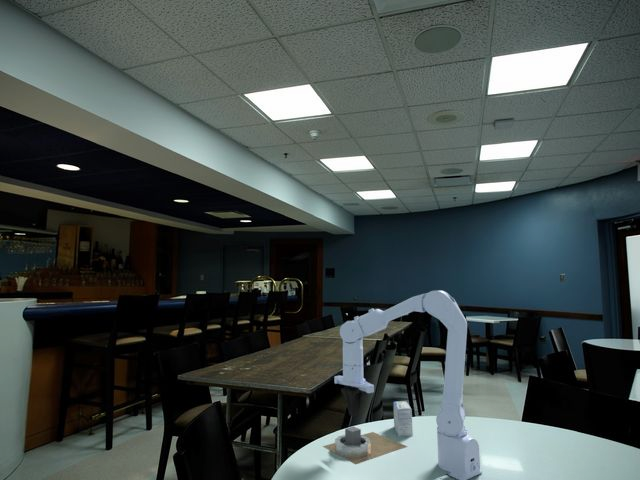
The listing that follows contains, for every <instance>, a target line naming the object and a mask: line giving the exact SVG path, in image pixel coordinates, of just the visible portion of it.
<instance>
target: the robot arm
mask: <svg viewBox="0 0 640 480" xmlns="http://www.w3.org/2000/svg"><path fill="white" fill-rule="evenodd" d="M413 312H419V313H425V312H427V313H428V314H429V315H431V316H432V317H434V318H436V319H438V320H439V321H440V322H441V323H442V324H443V325H444V326H445V328H446V329H447V337H446V338H447V339H446V352H445V367H444V377H443V378H444V379H443V390H442V391H443V392H442V399H441V404H440V410H439V411H438V413H437V414H436V418H435V421H436V425H437V427H436V431H437V432H436V435H437V437H436V438H437V462H438V464H437V465H438V467H439V468H440V469H441V470H444V471H446V472H447V473H446V475H448V476H450V477H452V478H454V479H456V480H469V479H472V478H473V477H476V476H477V475H480V474H482V473H483V470H482V469H481V461H480V457H481V456H480V445H479V442H478V440H477V439H475V438H473V437H471V435H469V434H468V429H467V428H466V427H465V425H464V422H465V419H466V417H467V416H466V415H467V414H466V409H465V406H464V404H463V403H464V402H463V399H464V394H463V393H464V392H463V391H464V378H465V365H466V364H465V362H466V350H467V335H468V321H467V319H466V318H465V316H464V314H463V312H462V310H461V309H460V307H459V304H458V303H457V301H456V300H455V298H454V297H452V296H451V295H450V294H449V293H448V292H447V291H445V290H440V289H439V290H431V291H429V292H427V293H422V294H417V295H415V296H411V297H410V298H408V299H406V300H403V301H402V302H400V303H398V304H395V305H394V306H391V307H389V308H388V309H385V310H382V309H380V308H376V309H375V308H370V309H368V312H367V313H365V314H363V315H360V316H359V315H357V316H354V317H353V320H347V321H346V322H344V323H343V324H342V325H341V326H340V328H339V336H340V338H341V339H342V375H335V376H334V384H335V385H336V384H337V385H338V384H339V385H343V386H344V387H342V388H340V391H341V393H342V395H343V397H344V400H345V402H346V406H347V410H348V414H349V416H352V417H354V416H358V415H359V412H360V411H359V410H360V406H361V403H362V399H363V398H364V396H365V394H373V393H375V386H374V385H375V384H372V383H370V382H368V381H366V380H367V379H366V378H364V346H363V343H364V341H363V339H364V337H369V336H371V335H372V334H373V335H374V334H376V333H378V332H380V331H382V330H385V329H387V327H388V324H389V323H390V322H391V321H393V320H395V319H398V318H400V317H403V316H405V315H407V314H410V313H413Z"/></svg>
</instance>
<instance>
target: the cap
mask: <svg viewBox="0 0 640 480" xmlns="http://www.w3.org/2000/svg"><path fill="white" fill-rule="evenodd" d="M361 430H362V429H361V428H358V427H356V426H350V427H347V428H346V427H345V428H344V435H345V442H344V443H343V444H345V445H350V446H358V445H362V444H363V443H362V442H361V435H362V431H361Z"/></svg>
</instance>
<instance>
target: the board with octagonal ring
mask: <svg viewBox="0 0 640 480" xmlns="http://www.w3.org/2000/svg"><path fill="white" fill-rule="evenodd" d="M344 442H345V434H343V435H339V436H337V437H336V438H335V439H334V442H333V443H330V444H326V445H323V446H322V447H323V448H325V449H327V450H329V451H330V452H333V453H334V454H336V455H338V456H339V457H341V458H343V459H345V460H347V461H348V462H351V463H352V464H353V465H357V464H361V463H363V462H366V461H369V460H373V459H376V458H379V457H381V456H384V455H388V454H390V453H393V452H396V451H399V450H401V449H405V448H408V446H407V445H405V444H402V443H401V442H398V441H395V440H393V439H391V438H388V437H386V436H384V435H381V434H379V433H376V432H374V431H372V432H368V433H364V434H361V442H362V443H363V444H362V445H358V446H350V445H345V444H343V443H344Z"/></svg>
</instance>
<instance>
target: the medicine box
mask: <svg viewBox="0 0 640 480" xmlns="http://www.w3.org/2000/svg"><path fill="white" fill-rule="evenodd" d="M412 410H413V409H412V408H411V406H410V405H409V403H408V402H407V401H403V400H402V401H400V400H399V401H393V428H394V429H395V431H396V434H397V435H398V437H413V436H414V434H413V433H414V432H413V431H414V430H413V413H412V412H413V411H412Z"/></svg>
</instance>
